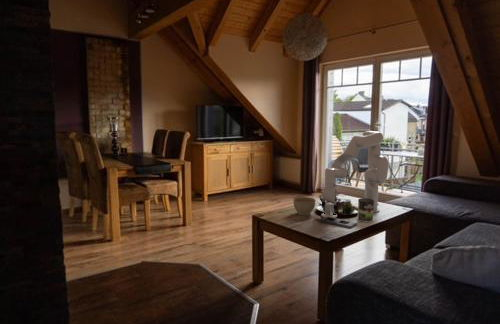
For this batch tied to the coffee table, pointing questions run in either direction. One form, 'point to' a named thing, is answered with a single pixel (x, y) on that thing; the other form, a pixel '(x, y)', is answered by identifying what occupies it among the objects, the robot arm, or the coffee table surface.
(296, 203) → the planter bowl
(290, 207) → the coffee table surface
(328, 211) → the light grey block
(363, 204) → the coffee can
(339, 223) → the dark grey flat plate
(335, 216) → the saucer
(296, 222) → the coffee table surface
